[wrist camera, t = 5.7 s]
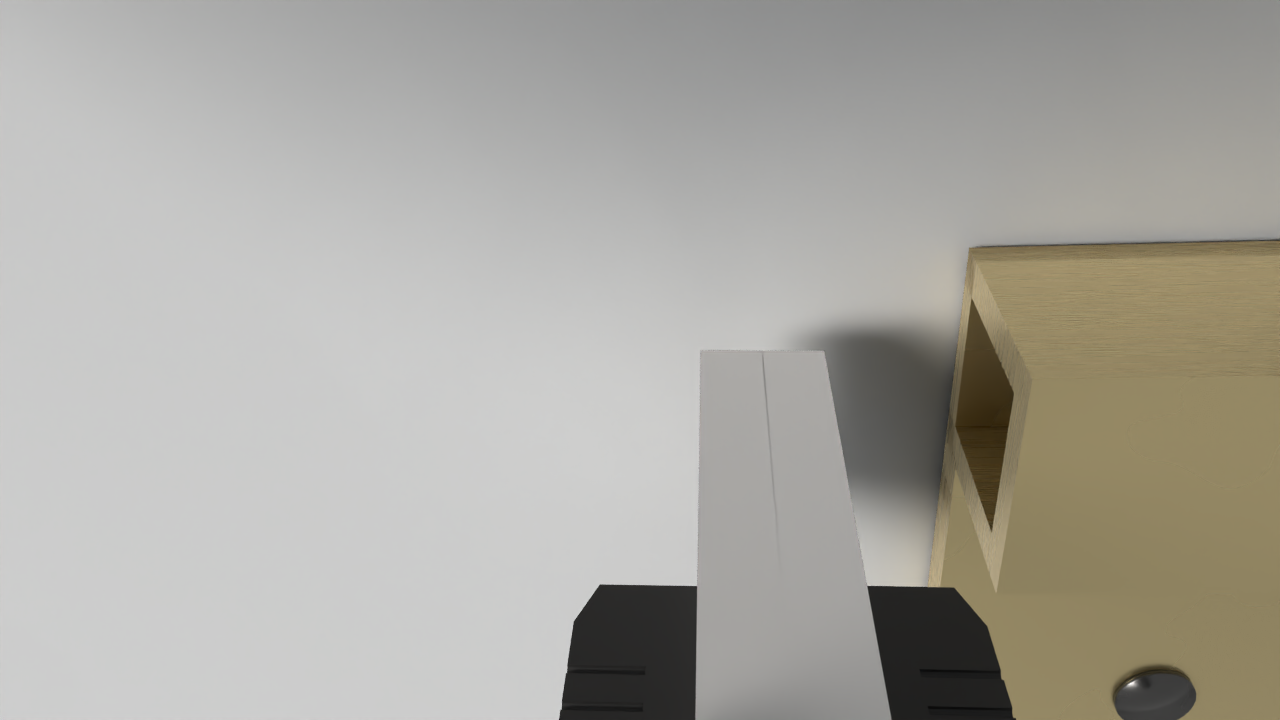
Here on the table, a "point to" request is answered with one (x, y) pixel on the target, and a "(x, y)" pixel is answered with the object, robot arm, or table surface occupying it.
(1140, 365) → the brass leaf
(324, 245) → the table surface
